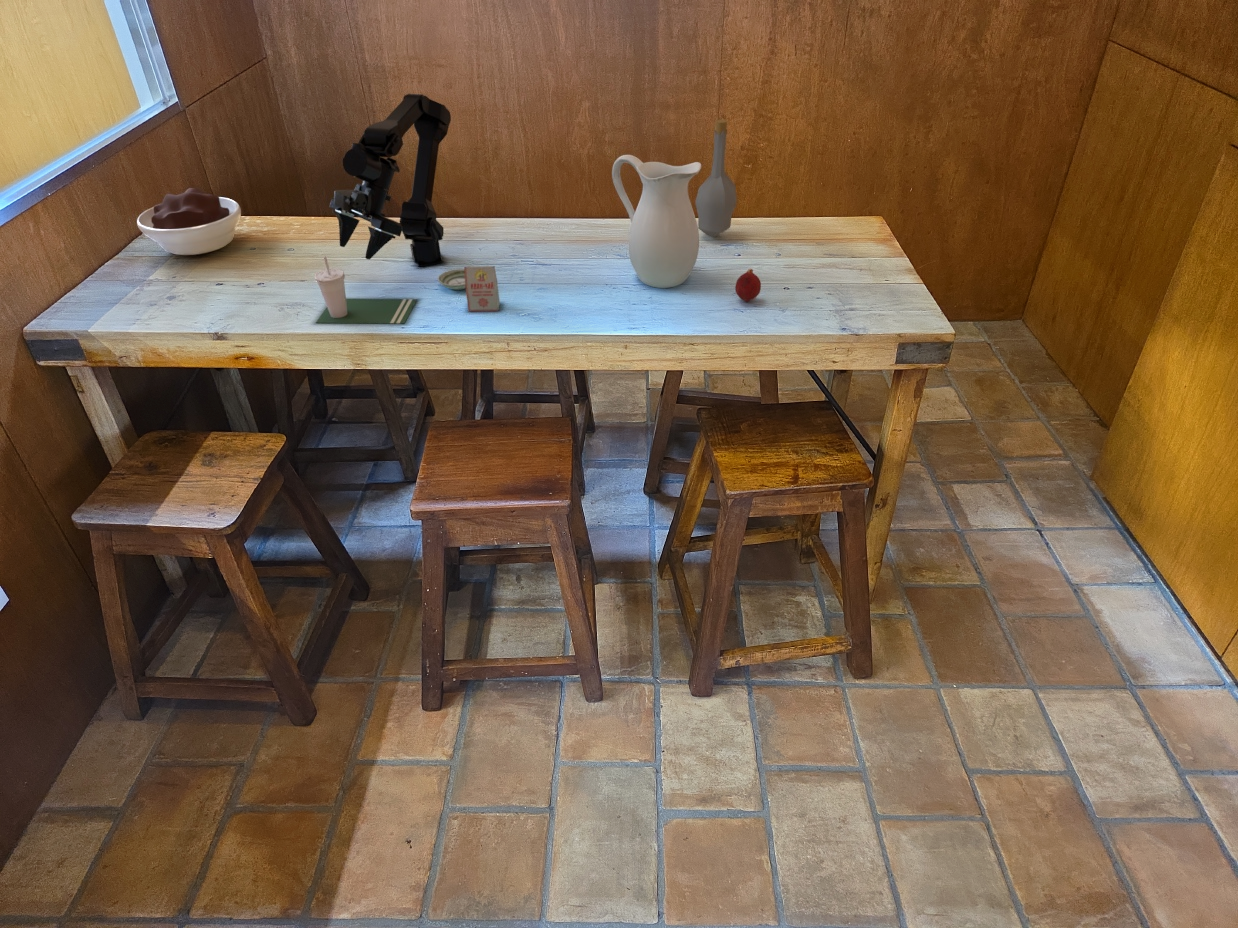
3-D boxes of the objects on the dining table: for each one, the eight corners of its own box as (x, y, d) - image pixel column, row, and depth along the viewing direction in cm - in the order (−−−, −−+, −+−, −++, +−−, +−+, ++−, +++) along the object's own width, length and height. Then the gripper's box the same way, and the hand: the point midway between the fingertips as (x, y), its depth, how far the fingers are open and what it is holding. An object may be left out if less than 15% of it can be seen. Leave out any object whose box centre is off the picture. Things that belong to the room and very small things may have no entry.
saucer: (463, 274, 196) (462, 264, 195) (487, 285, 191) (486, 276, 189) (431, 286, 191) (429, 276, 189) (454, 298, 185) (452, 288, 184)
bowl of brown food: (139, 271, 199) (115, 212, 190) (160, 235, 218) (140, 180, 209) (243, 261, 204) (225, 203, 194) (255, 226, 223) (239, 172, 214)
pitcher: (710, 277, 193) (718, 161, 176) (666, 300, 184) (670, 180, 166) (638, 252, 206) (639, 141, 189) (593, 272, 196) (590, 157, 179)
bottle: (736, 245, 209) (746, 127, 191) (694, 246, 209) (700, 127, 191) (732, 229, 218) (741, 115, 199) (691, 230, 218) (697, 115, 200)
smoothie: (327, 323, 175) (312, 264, 167) (321, 311, 180) (306, 253, 171) (356, 316, 178) (342, 258, 169) (350, 305, 182) (336, 248, 174)
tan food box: (470, 304, 183) (465, 263, 177) (499, 303, 183) (495, 263, 177) (468, 311, 180) (463, 270, 174) (498, 311, 180) (493, 270, 174)
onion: (752, 309, 179) (756, 276, 175) (729, 303, 182) (732, 271, 177) (763, 299, 183) (766, 267, 178) (740, 294, 186) (743, 262, 181)
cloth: (416, 300, 185) (416, 299, 185) (404, 324, 175) (404, 323, 175) (333, 299, 185) (332, 298, 185) (316, 323, 176) (315, 322, 176)
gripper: (320, 163, 172) (299, 231, 176) (374, 185, 164) (352, 257, 167) (360, 179, 182) (339, 244, 185) (413, 201, 174) (391, 268, 177)
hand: (354, 252), depth 178 cm, fingers open, 9 cm apart
